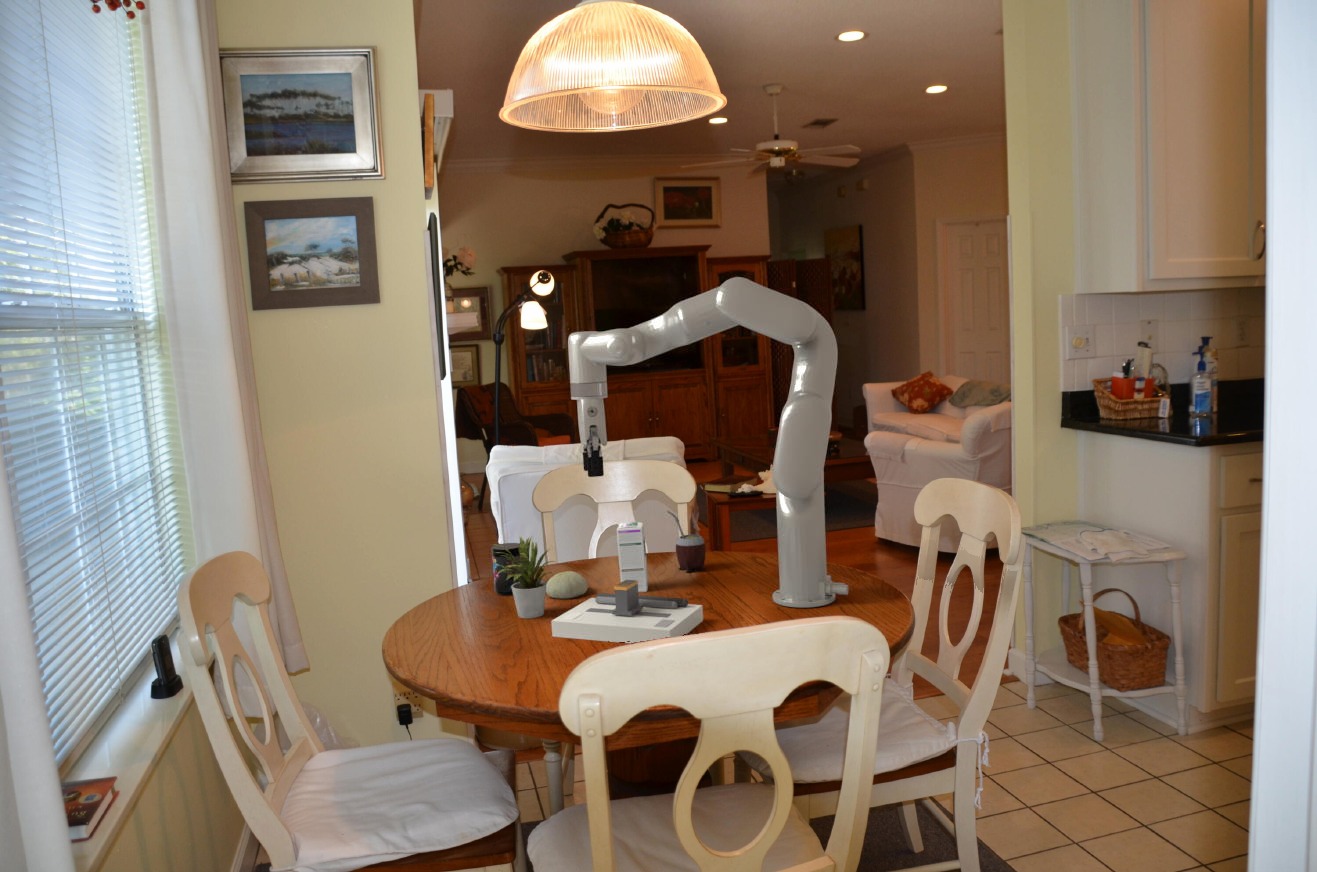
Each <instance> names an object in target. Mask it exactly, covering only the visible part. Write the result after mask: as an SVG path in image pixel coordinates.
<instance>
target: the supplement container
mask: <svg viewBox="0 0 1317 872" xmlns="http://www.w3.org/2000/svg"><path fill="white" fill-rule="evenodd" d="M519 544H520V542H519V543H518V542H504V543H498V544H496V545H492V546H491V558H492V569H493V583H494V592H495V594H497V595H499V594H500V595H499V596H513V591H512V587H511V586H512V585H513V584H515V583H518V582H519V581H518V580H517V579H516V580H515V581H514V576H512V577H510V578H508V579H507V577H508V575H511V574H510V573H509V572H508V571H507V570H505V571H502V572H500V573H498V572H499V571H501V570H502V569H505V568H503V567H502V566H504V567H505V566H509V565H514V564H513V563H512V562H511V561H510V560H509V559H508V558H507V557H505V556H508V555H506V554H509V555H510V556H511V554H512V555H513V556H514V558H515V559H516V560H517V562H518V563H519V564H520V563H522V562H521V560H520V554H519ZM499 545H501V546H503V547H505V548H506V549H508V550H509V552H510V553H511V554H510V553H509V552H508V551H506V549H505V548H503V547H501V546H499ZM504 549H505V550H504ZM495 552H500V553H495ZM504 553H506V554H504ZM502 555H505V556H502ZM508 557H509V556H508ZM509 558H511V557H509ZM511 559H512V558H511ZM512 560H513V559H512ZM513 561H514V560H513ZM514 563H515V564H516V565H517V563H516V562H515V561H514ZM499 565H502V566H499ZM506 568H507V567H506ZM507 569H511V570H514V571H515V572H516V573H518V574H520V573H519V572H518V570H517V569H516V568H507ZM511 570H509V571H510V572H512V573H514V574H516V573H515V572H514V571H511ZM519 570H520V572H521V573H522V571H521V569H519ZM522 574H523V573H522Z"/></svg>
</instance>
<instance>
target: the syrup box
mask: <svg viewBox="0 0 1317 872" xmlns="http://www.w3.org/2000/svg"><path fill="white" fill-rule="evenodd" d="M616 538H617V550H618V551H617V553H618V565H619V577H620V580H619V581H620V583H621V582H623V581H625V580H638V593H646V592H648V588H649V578H648V577H649V576H648V562H647V550H646V549H647V548H646V535H645V524H644V522H643V521H628V522H621V523H618V525H617V528H616Z"/></svg>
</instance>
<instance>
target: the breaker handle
mask: <svg viewBox="0 0 1317 872" xmlns="http://www.w3.org/2000/svg"><path fill="white" fill-rule="evenodd" d="M613 590H614V594H615V603H616V608H615V609H613V610H612V614H613V615H626V616H632V615H634V614H635V613H637V612H638V611H640V610H641V609H643V604H639V598H638V596H639V592H638V580H625V581H623V582H621V581H620V583H618V584H616V585H615V586H613Z"/></svg>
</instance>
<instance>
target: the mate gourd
mask: <svg viewBox="0 0 1317 872" xmlns="http://www.w3.org/2000/svg"><path fill="white" fill-rule="evenodd" d="M666 512H667V513H668V514H670V515H671V517H673V519H674V521H675V522H676V525H677V528H678V530H679V532H680V536H679V537H678V538H677V540H676V542H675V544H676V545H675V554H676V557H677V558H676V559H677V562H678V564H679V567H678V570H679V571H685V570H687V571H685V573H689V574H691V573H692V572H695V571H694V570H699V571H698V572H705V571H704V570H705V568H704V567H705V563H706V562H705V561H706V552H707V548H706V542H705V540H704V538H703V536H701V535H699V534H684V531H683V529H682V526H681V524H680V520H679V518H678V517H677V516H676V515H675V514H674V513H672V512H671V511H669V510H666ZM690 572H691V573H690Z"/></svg>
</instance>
